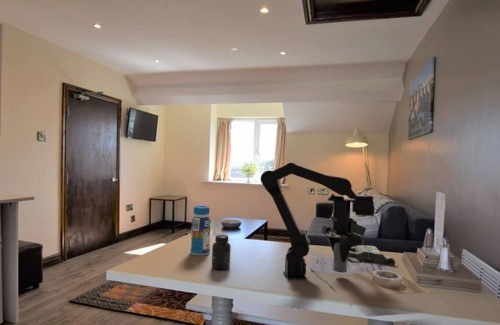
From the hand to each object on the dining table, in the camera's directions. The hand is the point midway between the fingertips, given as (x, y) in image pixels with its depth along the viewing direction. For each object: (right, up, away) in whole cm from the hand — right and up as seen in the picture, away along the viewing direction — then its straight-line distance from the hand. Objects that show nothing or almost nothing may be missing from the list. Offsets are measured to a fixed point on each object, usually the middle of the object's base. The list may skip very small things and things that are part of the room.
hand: (340, 259), depth 106 cm
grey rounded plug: (0, -4, 0) cm, 4 cm away
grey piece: (+18, -9, +26) cm, 33 cm away
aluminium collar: (+15, -6, -3) cm, 16 cm away
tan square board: (+15, -8, -3) cm, 17 cm away
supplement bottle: (-42, -6, +9) cm, 43 cm away
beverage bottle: (-53, -6, +28) cm, 60 cm away
